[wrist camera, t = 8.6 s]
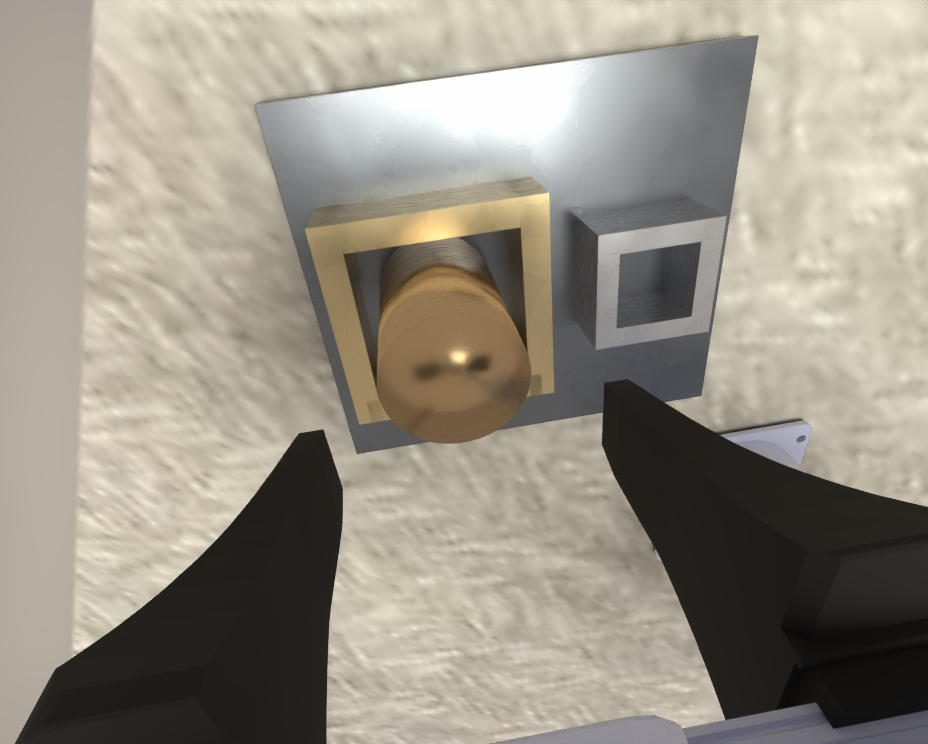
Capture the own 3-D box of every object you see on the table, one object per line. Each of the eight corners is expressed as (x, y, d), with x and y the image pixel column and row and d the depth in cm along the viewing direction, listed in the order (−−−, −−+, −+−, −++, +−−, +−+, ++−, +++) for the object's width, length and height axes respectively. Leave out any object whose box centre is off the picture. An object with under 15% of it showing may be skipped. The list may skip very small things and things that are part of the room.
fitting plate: (691, 384, 27) (729, 426, 24) (357, 440, 26) (354, 491, 23) (741, 35, 19) (808, 34, 16) (260, 102, 18) (235, 112, 15)
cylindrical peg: (494, 331, 22) (532, 432, 17) (389, 345, 22) (389, 452, 16) (488, 227, 20) (530, 302, 14) (370, 240, 20) (363, 323, 14)
